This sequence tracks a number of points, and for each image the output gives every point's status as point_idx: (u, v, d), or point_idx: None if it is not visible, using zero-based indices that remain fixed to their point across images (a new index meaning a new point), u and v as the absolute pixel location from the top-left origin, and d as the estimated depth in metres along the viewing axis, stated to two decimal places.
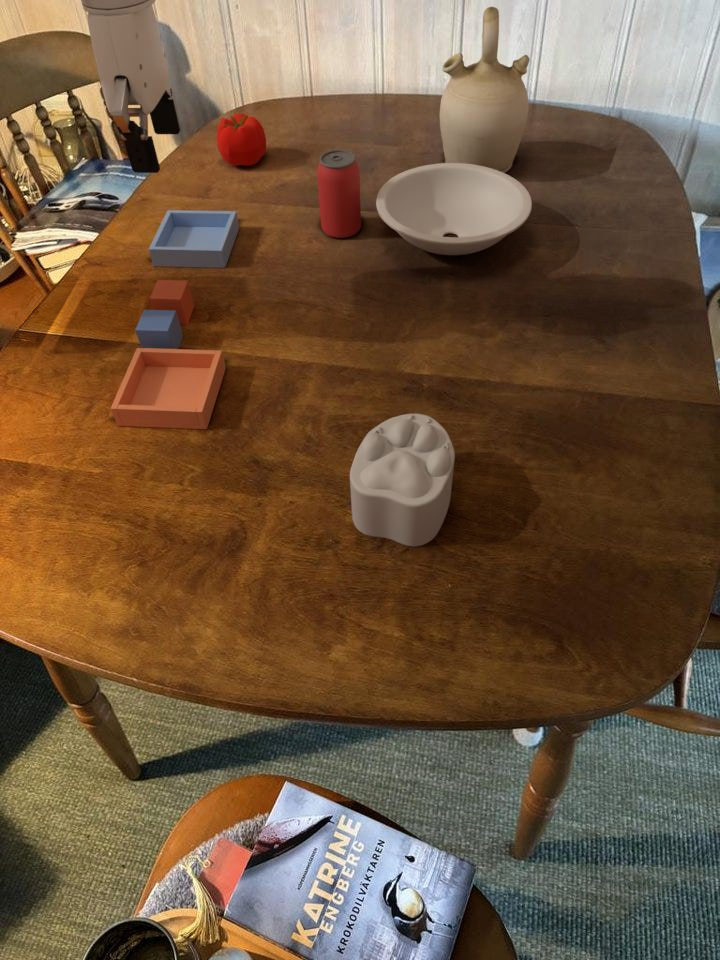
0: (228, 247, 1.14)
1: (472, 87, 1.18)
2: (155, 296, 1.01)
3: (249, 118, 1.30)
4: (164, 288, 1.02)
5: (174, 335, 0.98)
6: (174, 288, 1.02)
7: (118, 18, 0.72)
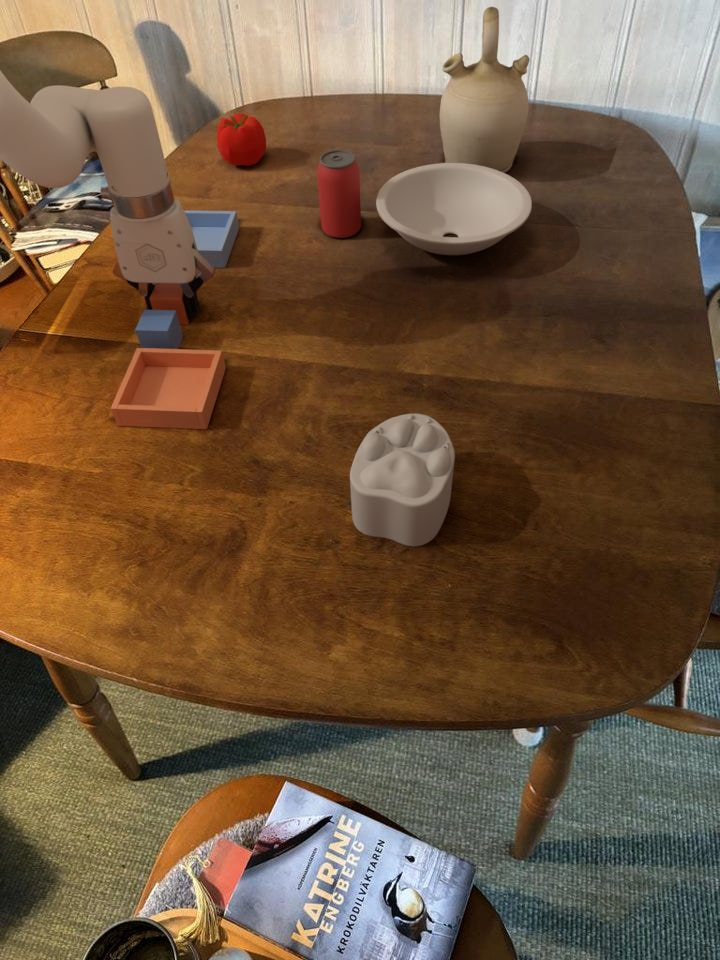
0: (228, 247, 1.14)
1: (472, 87, 1.18)
2: (155, 296, 1.01)
3: (249, 118, 1.30)
4: (164, 288, 1.02)
5: (174, 335, 0.98)
6: (174, 288, 1.02)
7: (180, 204, 0.93)
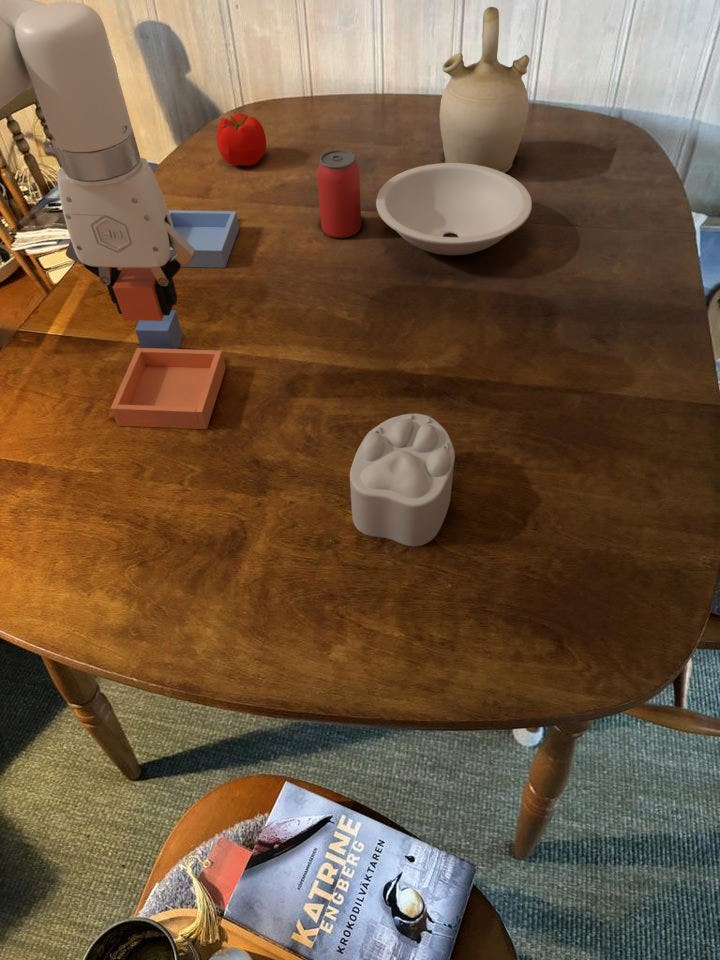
0: (228, 247, 1.14)
1: (472, 87, 1.18)
2: (120, 285, 0.80)
3: (249, 118, 1.30)
4: (132, 275, 0.81)
5: (174, 335, 0.98)
6: (144, 274, 0.81)
7: (147, 164, 0.72)
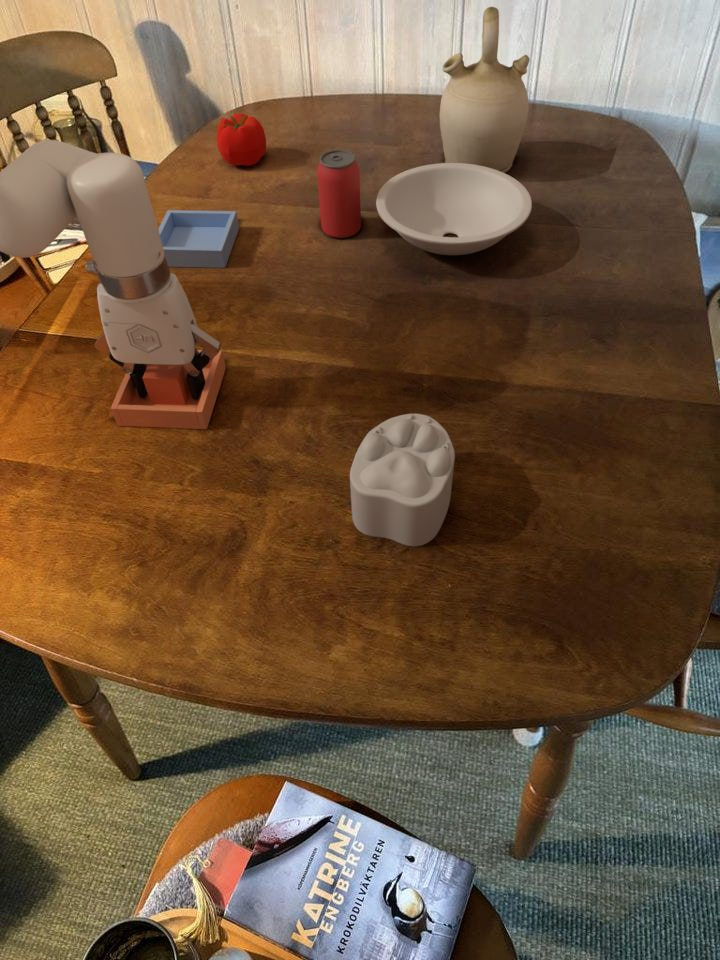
0: (228, 247, 1.14)
1: (472, 87, 1.18)
2: (148, 375, 0.89)
3: (249, 118, 1.30)
4: (159, 365, 0.90)
5: None
6: (170, 365, 0.90)
7: (176, 279, 0.81)
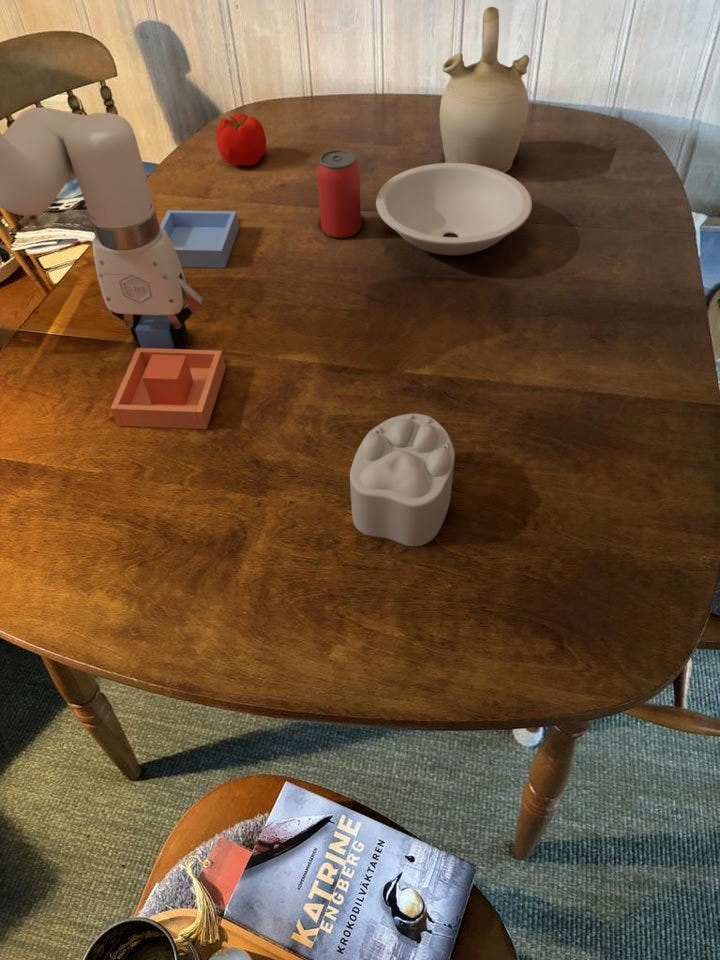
0: (228, 247, 1.14)
1: (472, 87, 1.18)
2: (148, 375, 0.89)
3: (249, 118, 1.30)
4: (159, 365, 0.90)
5: None
6: (170, 365, 0.90)
7: (166, 233, 0.88)
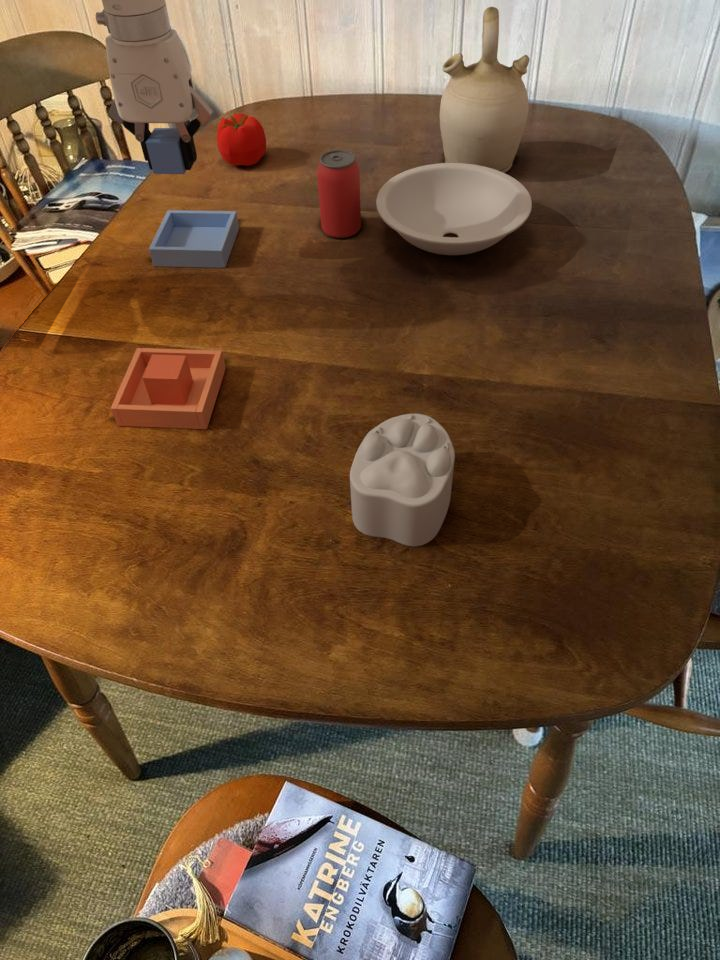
0: (228, 247, 1.14)
1: (472, 87, 1.18)
2: (148, 375, 0.89)
3: (249, 118, 1.30)
4: (159, 365, 0.90)
5: None
6: (170, 365, 0.90)
7: (176, 33, 0.91)
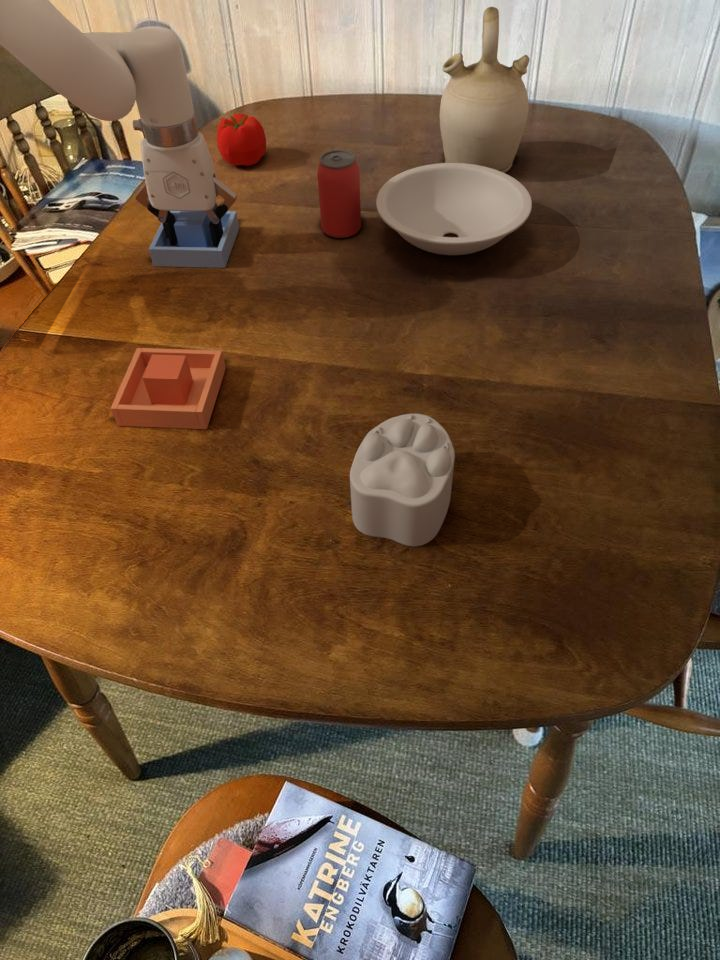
0: (228, 247, 1.14)
1: (472, 87, 1.18)
2: (148, 375, 0.89)
3: (249, 118, 1.30)
4: (159, 365, 0.90)
5: (206, 231, 1.14)
6: (170, 365, 0.90)
7: None
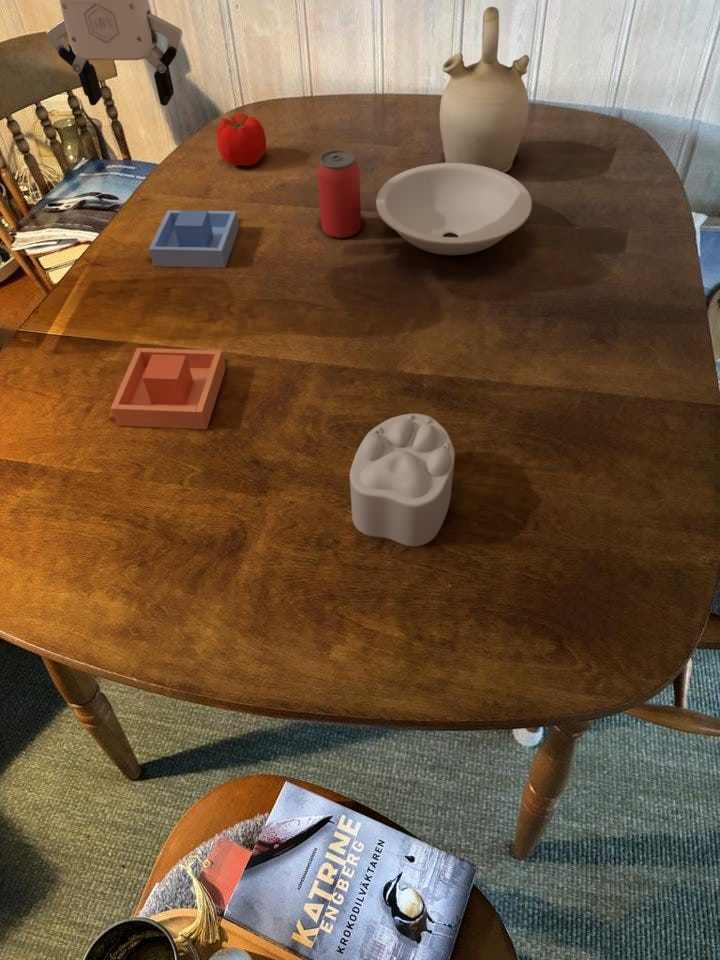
0: (228, 247, 1.14)
1: (472, 87, 1.18)
2: (148, 375, 0.89)
3: (249, 118, 1.30)
4: (159, 365, 0.90)
5: (206, 231, 1.14)
6: (170, 365, 0.90)
7: None
